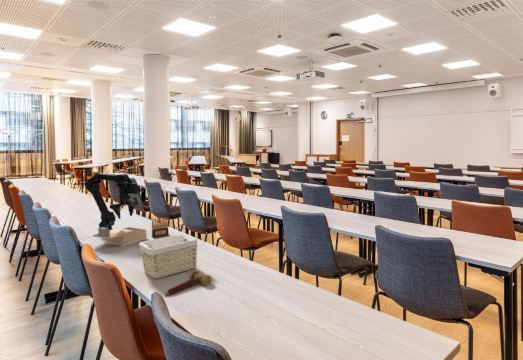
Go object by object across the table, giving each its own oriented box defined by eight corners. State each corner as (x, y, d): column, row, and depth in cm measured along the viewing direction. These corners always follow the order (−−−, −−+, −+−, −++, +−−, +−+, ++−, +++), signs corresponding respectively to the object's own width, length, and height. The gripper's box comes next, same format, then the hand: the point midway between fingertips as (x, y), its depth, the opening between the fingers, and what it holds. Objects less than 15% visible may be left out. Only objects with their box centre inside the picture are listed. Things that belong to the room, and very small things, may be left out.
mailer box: (106, 242, 233) (105, 233, 232) (129, 235, 248) (128, 226, 248) (123, 245, 225) (123, 236, 224) (146, 238, 240) (146, 229, 240)
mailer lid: (92, 236, 224) (91, 227, 224) (117, 229, 240) (116, 221, 239) (110, 239, 216) (109, 230, 216) (135, 232, 232) (134, 223, 231)
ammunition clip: (152, 237, 242) (151, 219, 240) (151, 237, 243) (150, 219, 242) (168, 235, 247) (167, 217, 246) (167, 234, 249) (166, 216, 248)
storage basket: (152, 281, 168) (150, 249, 167) (139, 271, 181) (137, 241, 179) (200, 268, 183) (198, 239, 181) (185, 260, 196) (183, 232, 194)
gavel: (171, 292, 148) (156, 286, 155) (172, 303, 149) (157, 296, 155) (211, 273, 163) (196, 269, 170) (212, 283, 164) (197, 278, 171)
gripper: (120, 196, 230) (122, 221, 232) (143, 192, 246) (145, 215, 248) (108, 195, 235) (110, 220, 237) (131, 191, 251) (133, 214, 253)
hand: (125, 217), depth 244 cm, fingers open, 9 cm apart
